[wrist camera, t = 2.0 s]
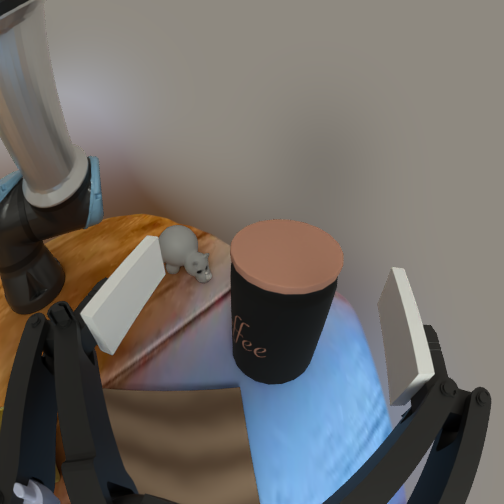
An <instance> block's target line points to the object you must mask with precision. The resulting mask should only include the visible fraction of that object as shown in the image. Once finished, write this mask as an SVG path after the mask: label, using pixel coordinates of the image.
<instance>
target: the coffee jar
mask: <svg viewBox="0 0 504 504" xmlns="http://www.w3.org/2000/svg"><path fill="white" fill-rule="evenodd" d="M230 255H231V261H232V263H231V313H232V342H233V356H234V359H235V362H236V364H237V366H238V367H239V368H240V369H241V370H242V372H243V373H244V374H245V375H247V376H248V377H250V378H252V379H253V380H255V381H257V382H261V383H265V384H283V383H286V382H288V381H291V380H294V379H296V378H297V377H298V376H300V375H301V374H302V373H304V371H305V370H306V368H307V367H308V365H309V364H310V361H311V359H312V356H313V354H314V351H315V348H316V346H317V343H318V340H319V338H320V335H321V332H322V330H323V327H324V324H325V321H326V318H327V315H328V312H329V309H330V306H331V303H332V300H333V297H334V294H335V291H336V288H337V278H338V275H339V273H340V272H341V269H342V267H343V252H342V250H341V247H340V245H339V244H338V242H337V241H336V240H334V238H332V237H331V236H330V235H329V234H328V233H326V232H324V231H323V230H321V229H319V228H318V227H315V226H312V225H309V224H307V223H304V222H298V221H293V220H280V219H278V220H277V219H273V220H267V221H259V222H257V223H254V224H251V225H248V226H246V227H245V228H243V229H242V230H241V231H239V232H238V233H237V234H236V235H235V237H234V239H233V240H232V242H231V250H230Z"/></svg>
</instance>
